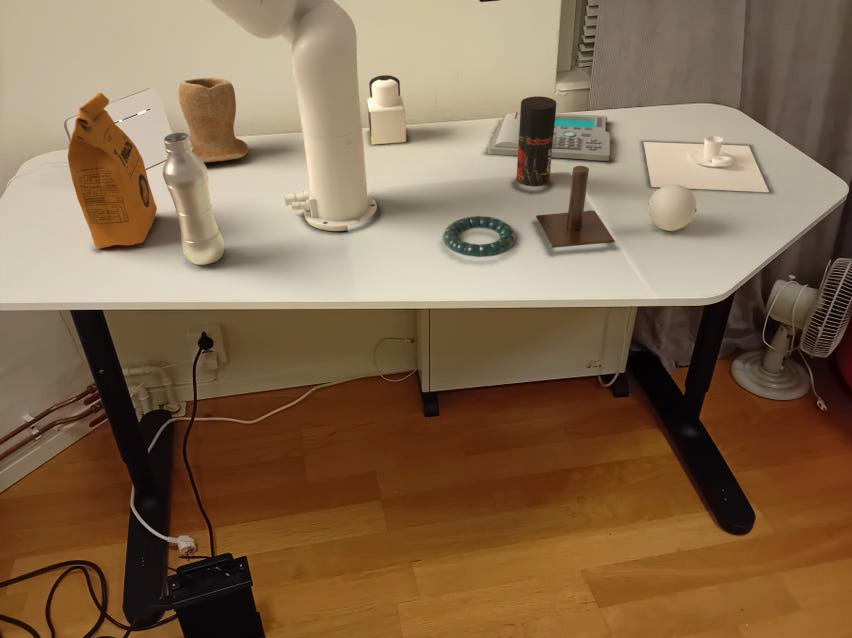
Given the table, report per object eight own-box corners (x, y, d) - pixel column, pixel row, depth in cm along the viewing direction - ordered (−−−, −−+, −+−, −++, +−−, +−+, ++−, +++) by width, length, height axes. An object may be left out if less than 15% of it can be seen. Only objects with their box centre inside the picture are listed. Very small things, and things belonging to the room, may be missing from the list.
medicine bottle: (369, 131, 155) (365, 73, 147) (402, 129, 155) (400, 71, 147) (371, 145, 149) (367, 85, 141) (406, 142, 149) (404, 83, 142)
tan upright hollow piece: (249, 141, 152) (236, 67, 143) (248, 165, 143) (234, 88, 134) (175, 148, 151) (156, 74, 141) (169, 172, 142) (149, 95, 132)
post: (551, 254, 114) (557, 186, 107) (535, 223, 122) (540, 158, 115) (613, 248, 115) (624, 180, 108) (593, 218, 123) (602, 152, 115)
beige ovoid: (697, 238, 116) (707, 196, 112) (649, 239, 117) (658, 197, 112) (681, 209, 124) (690, 168, 120) (637, 209, 125) (644, 169, 120)
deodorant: (547, 193, 130) (555, 109, 121) (514, 191, 131) (519, 108, 122) (549, 178, 135) (557, 97, 125) (517, 176, 136) (522, 95, 126)
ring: (449, 265, 113) (449, 252, 111) (438, 229, 121) (438, 216, 120) (522, 259, 113) (523, 245, 112) (506, 223, 122) (506, 210, 121)
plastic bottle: (189, 273, 113) (156, 150, 100) (182, 253, 118) (149, 133, 105) (231, 263, 115) (203, 141, 102) (222, 244, 120) (194, 125, 107)
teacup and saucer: (736, 171, 134) (741, 150, 132) (691, 169, 136) (695, 148, 133) (728, 152, 141) (733, 131, 139) (685, 150, 142) (690, 130, 140)
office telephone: (487, 142, 142) (502, 105, 157) (487, 155, 144) (501, 117, 159) (610, 148, 138) (613, 109, 153) (608, 161, 139) (611, 121, 154)
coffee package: (168, 214, 128) (134, 88, 114) (146, 251, 119) (106, 118, 105) (113, 215, 129) (72, 89, 115) (86, 251, 119) (38, 119, 105)
